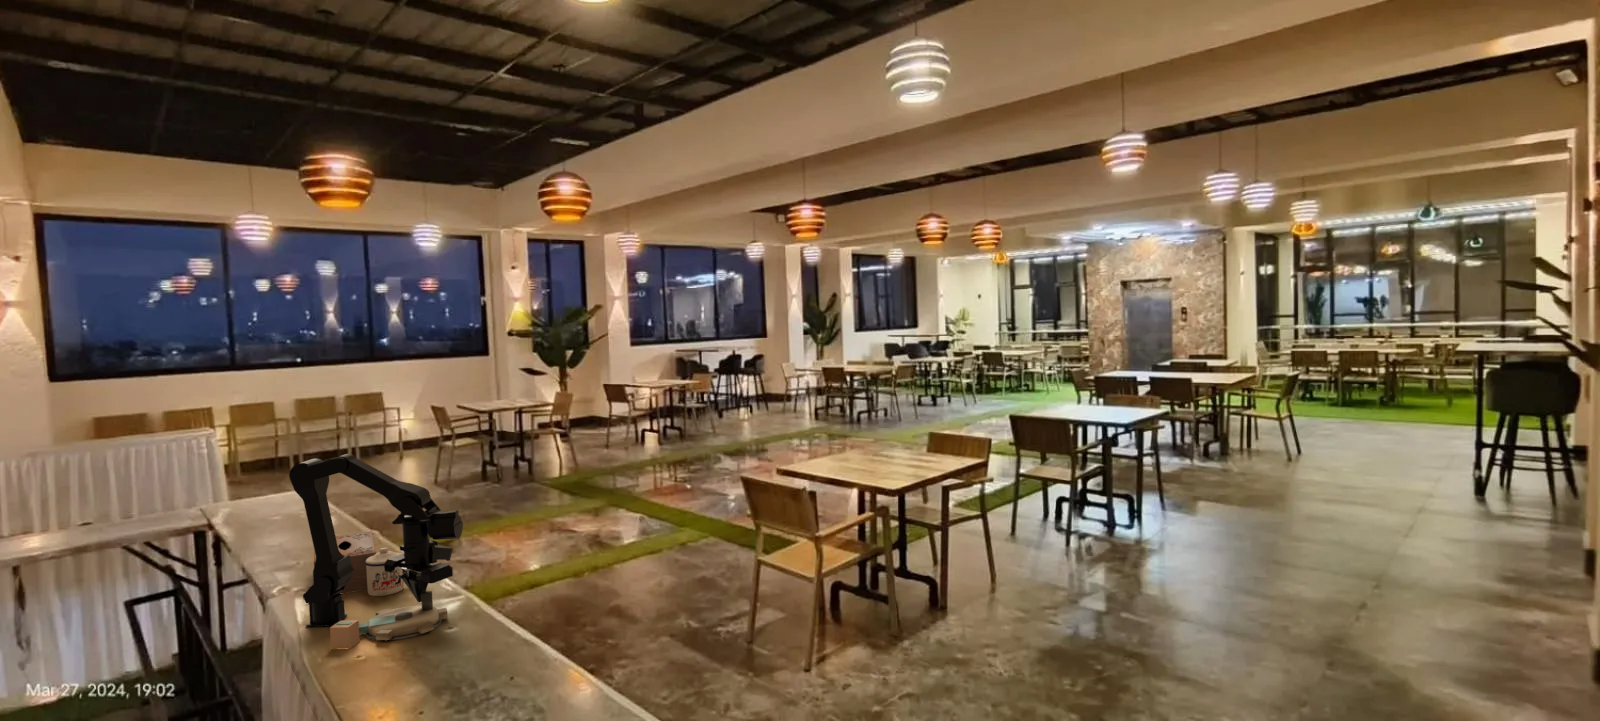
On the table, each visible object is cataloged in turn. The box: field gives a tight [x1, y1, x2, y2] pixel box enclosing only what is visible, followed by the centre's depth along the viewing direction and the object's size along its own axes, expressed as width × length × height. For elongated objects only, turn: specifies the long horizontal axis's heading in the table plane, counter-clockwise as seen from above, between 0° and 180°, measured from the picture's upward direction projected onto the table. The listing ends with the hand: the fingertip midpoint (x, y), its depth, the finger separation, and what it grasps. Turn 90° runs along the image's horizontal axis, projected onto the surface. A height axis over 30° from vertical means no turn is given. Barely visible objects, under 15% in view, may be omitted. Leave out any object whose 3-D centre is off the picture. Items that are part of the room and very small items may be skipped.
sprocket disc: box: [359, 590, 449, 641], centre depth 183 cm, size 19×18×6 cm
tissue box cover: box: [313, 530, 377, 594], centre depth 218 cm, size 26×14×10 cm, turn 31°
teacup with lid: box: [365, 547, 405, 597], centre depth 209 cm, size 12×9×12 cm
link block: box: [329, 619, 361, 649], centre depth 173 cm, size 4×4×5 cm
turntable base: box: [365, 619, 442, 642], centre depth 183 cm, size 16×16×1 cm
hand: (420, 601), depth 190 cm, fingers closed
